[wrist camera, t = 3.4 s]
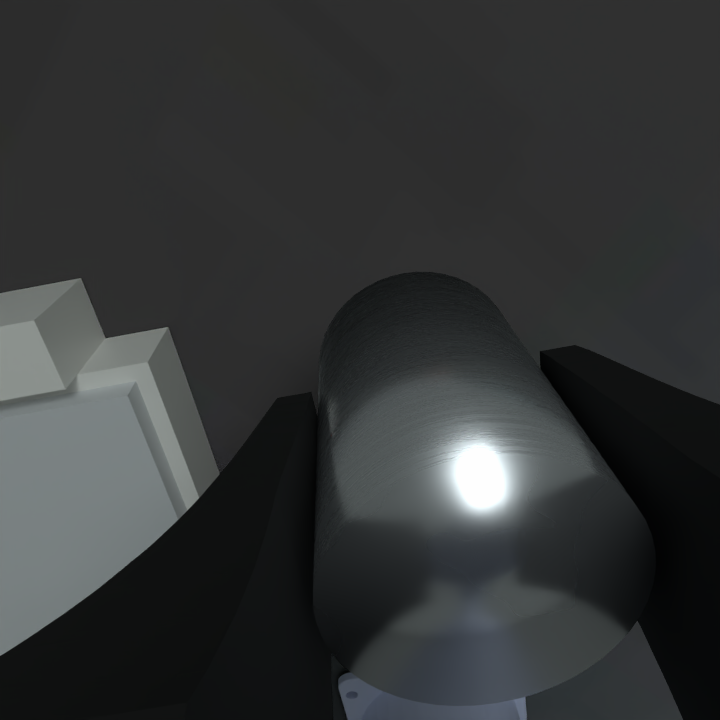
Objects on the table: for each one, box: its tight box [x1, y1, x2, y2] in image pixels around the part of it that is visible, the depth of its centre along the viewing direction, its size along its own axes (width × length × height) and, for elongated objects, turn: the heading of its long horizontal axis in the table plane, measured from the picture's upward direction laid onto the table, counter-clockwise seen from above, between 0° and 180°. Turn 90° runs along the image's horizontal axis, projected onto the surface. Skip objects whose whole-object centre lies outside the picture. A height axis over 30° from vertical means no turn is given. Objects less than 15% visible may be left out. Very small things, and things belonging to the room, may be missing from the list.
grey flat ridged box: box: [0, 278, 220, 656], centre depth 20 cm, size 14×12×3 cm
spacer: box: [313, 272, 656, 706], centre depth 10 cm, size 4×4×6 cm
